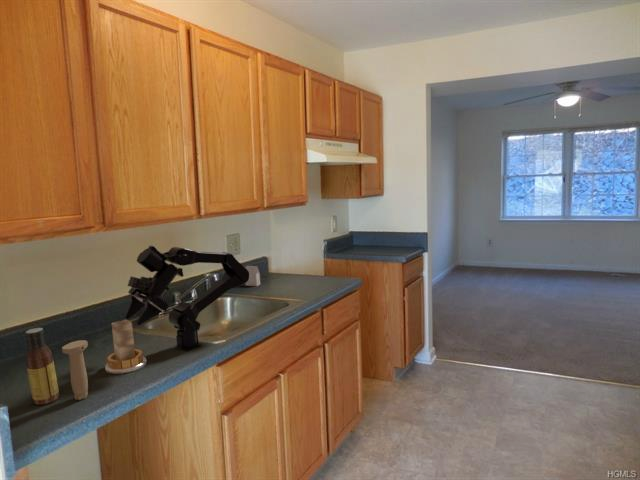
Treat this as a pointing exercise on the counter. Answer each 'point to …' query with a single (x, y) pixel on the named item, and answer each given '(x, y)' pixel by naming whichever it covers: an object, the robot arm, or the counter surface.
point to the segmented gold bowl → (125, 363)
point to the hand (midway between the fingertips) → (131, 321)
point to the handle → (77, 368)
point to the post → (123, 340)
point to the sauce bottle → (40, 368)
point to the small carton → (253, 276)
